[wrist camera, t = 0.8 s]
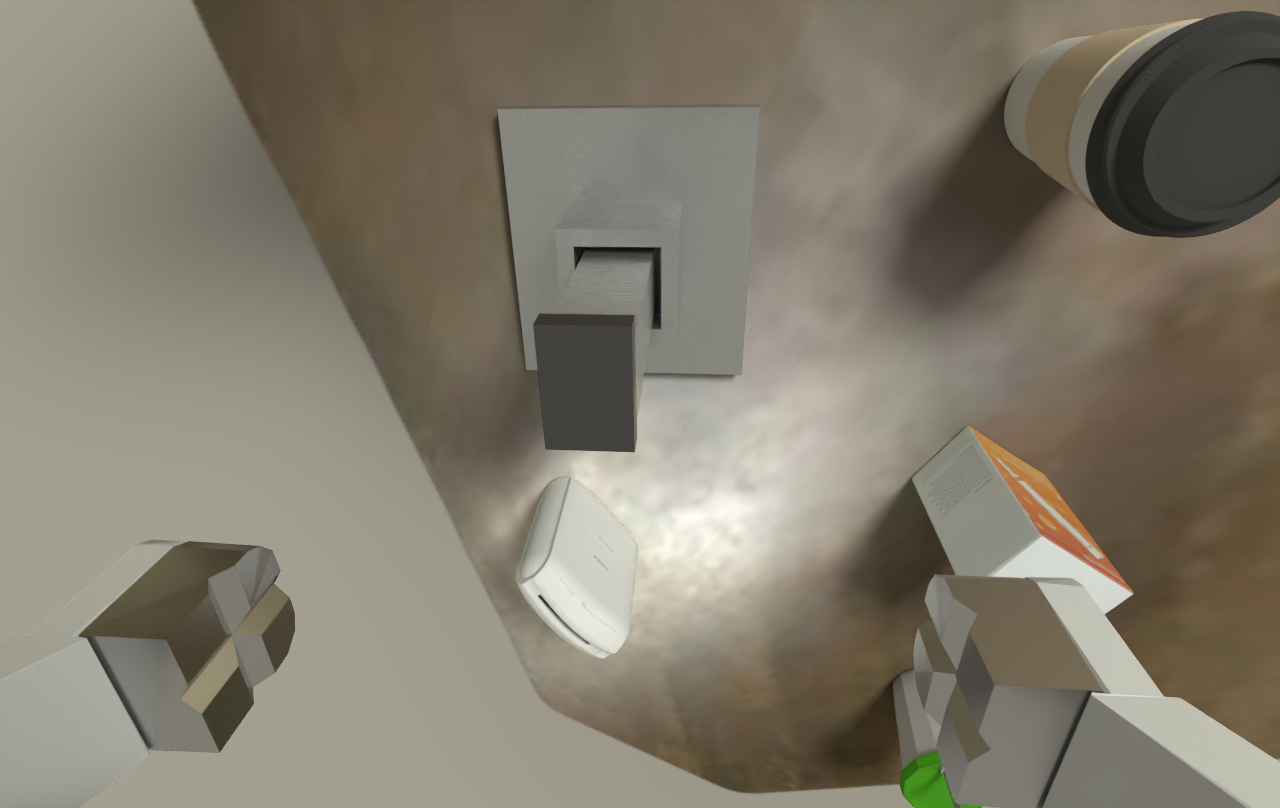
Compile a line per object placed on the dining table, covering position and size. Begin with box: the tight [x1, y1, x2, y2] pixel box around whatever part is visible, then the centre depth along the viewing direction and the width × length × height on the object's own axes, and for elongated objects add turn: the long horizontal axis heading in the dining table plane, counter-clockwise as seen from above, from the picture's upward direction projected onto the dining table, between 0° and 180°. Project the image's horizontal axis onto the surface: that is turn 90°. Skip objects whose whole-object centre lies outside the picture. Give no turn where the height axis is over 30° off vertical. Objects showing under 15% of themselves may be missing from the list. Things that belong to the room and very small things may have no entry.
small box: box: [912, 426, 1133, 614], centre depth 47 cm, size 8×6×13 cm
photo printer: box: [515, 477, 638, 659], centre depth 53 cm, size 10×4×12 cm, turn 37°
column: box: [533, 247, 659, 452], centre depth 37 cm, size 6×4×19 cm, turn 1°
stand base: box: [498, 105, 759, 375], centre depth 39 cm, size 18×16×16 cm
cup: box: [893, 669, 982, 808], centre depth 59 cm, size 8×8×15 cm
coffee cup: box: [1004, 11, 1280, 238], centre depth 33 cm, size 9×9×15 cm
